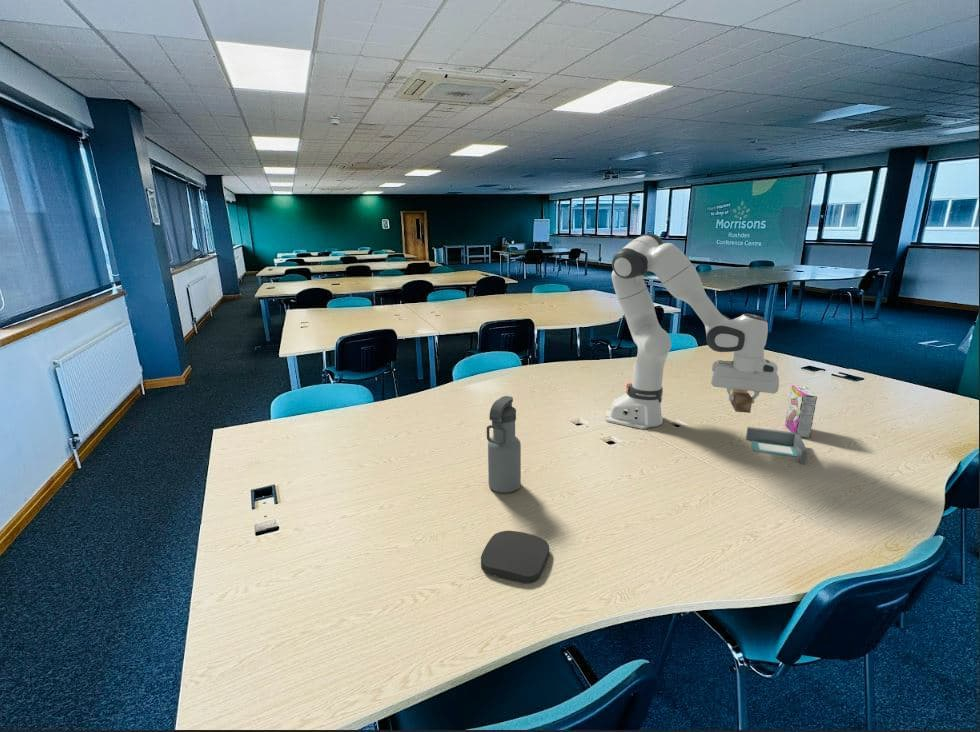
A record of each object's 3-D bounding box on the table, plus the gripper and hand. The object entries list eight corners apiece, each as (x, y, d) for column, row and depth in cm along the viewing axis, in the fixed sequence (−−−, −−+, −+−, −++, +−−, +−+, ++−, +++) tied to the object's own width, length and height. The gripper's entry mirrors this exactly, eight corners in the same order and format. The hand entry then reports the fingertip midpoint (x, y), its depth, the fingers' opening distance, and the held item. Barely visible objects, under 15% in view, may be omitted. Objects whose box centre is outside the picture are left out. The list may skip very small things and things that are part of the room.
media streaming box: (475, 572, 113) (475, 562, 112) (497, 535, 126) (497, 525, 125) (536, 588, 108) (536, 577, 107) (552, 548, 121) (552, 537, 120)
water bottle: (509, 498, 142) (509, 409, 133) (481, 489, 147) (479, 402, 138) (526, 482, 150) (526, 397, 142) (499, 474, 155) (498, 392, 147)
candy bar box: (783, 425, 187) (790, 384, 182) (798, 426, 186) (805, 385, 181) (795, 437, 177) (802, 395, 172) (810, 438, 176) (818, 395, 171)
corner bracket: (749, 456, 164) (751, 444, 162) (745, 438, 177) (747, 426, 176) (805, 464, 158) (807, 451, 157) (796, 444, 171) (798, 433, 170)
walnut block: (735, 411, 163) (737, 397, 162) (730, 402, 172) (732, 388, 170) (750, 412, 162) (752, 398, 161) (744, 403, 170) (746, 389, 169)
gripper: (713, 362, 163) (708, 400, 167) (783, 368, 156) (775, 408, 160) (713, 357, 169) (707, 394, 173) (780, 363, 161) (773, 402, 165)
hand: (741, 401), depth 166 cm, fingers closed on walnut block, 5 cm apart
